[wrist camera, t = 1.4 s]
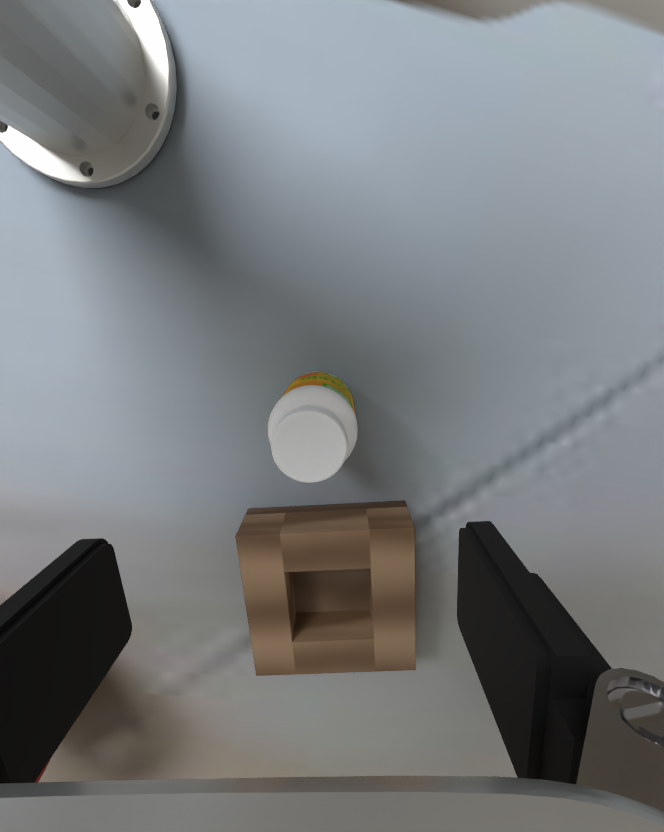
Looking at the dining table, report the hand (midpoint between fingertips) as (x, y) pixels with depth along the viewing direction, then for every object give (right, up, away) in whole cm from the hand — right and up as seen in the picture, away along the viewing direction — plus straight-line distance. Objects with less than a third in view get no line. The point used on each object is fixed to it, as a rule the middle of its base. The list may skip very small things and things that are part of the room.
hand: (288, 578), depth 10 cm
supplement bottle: (0, +5, +19) cm, 19 cm away
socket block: (+1, -9, +22) cm, 24 cm away
